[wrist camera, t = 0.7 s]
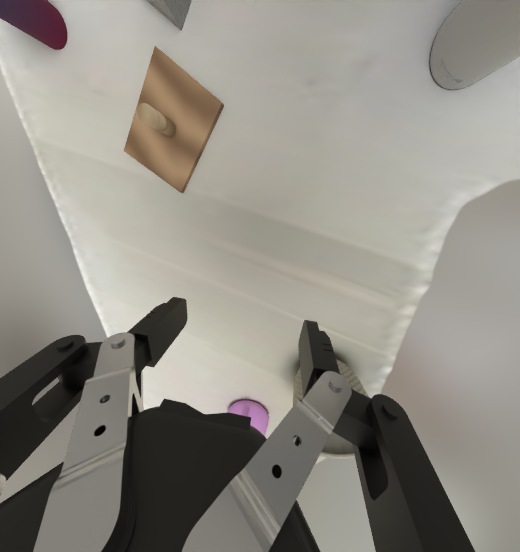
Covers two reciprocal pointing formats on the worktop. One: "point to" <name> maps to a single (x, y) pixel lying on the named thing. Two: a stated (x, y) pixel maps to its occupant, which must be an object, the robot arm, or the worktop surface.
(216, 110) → the post board
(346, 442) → the planter
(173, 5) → the collar
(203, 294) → the worktop surface
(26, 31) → the cup
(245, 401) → the teapot
